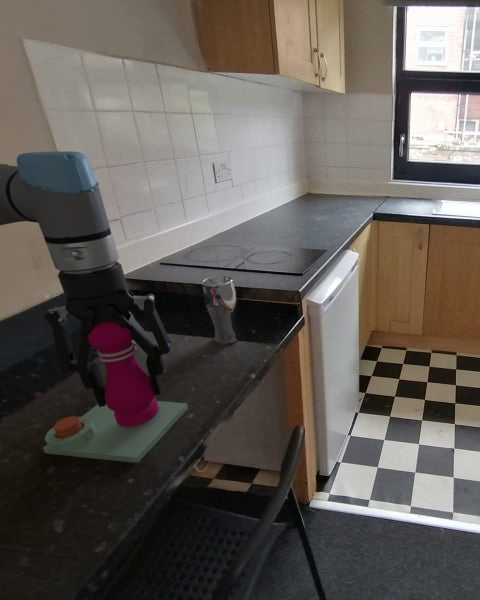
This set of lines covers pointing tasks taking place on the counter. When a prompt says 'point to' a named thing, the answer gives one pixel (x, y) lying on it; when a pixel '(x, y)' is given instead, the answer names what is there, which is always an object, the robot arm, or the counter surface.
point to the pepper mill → (124, 376)
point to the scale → (114, 435)
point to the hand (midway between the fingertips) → (132, 395)
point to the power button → (68, 426)
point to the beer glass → (222, 308)
